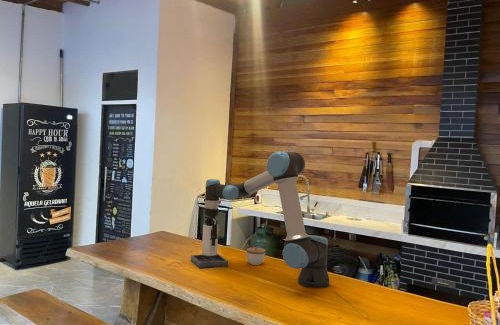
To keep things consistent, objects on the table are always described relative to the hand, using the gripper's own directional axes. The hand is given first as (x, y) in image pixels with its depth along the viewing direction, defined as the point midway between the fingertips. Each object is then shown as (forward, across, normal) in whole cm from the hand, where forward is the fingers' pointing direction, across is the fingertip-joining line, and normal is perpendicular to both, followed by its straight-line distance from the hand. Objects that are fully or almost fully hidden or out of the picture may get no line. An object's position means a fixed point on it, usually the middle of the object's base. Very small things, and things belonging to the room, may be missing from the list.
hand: (209, 249), depth 232 cm
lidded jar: (+8, -6, -25) cm, 27 cm away
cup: (+3, 0, 0) cm, 3 cm away
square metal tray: (+8, 0, 0) cm, 8 cm away
